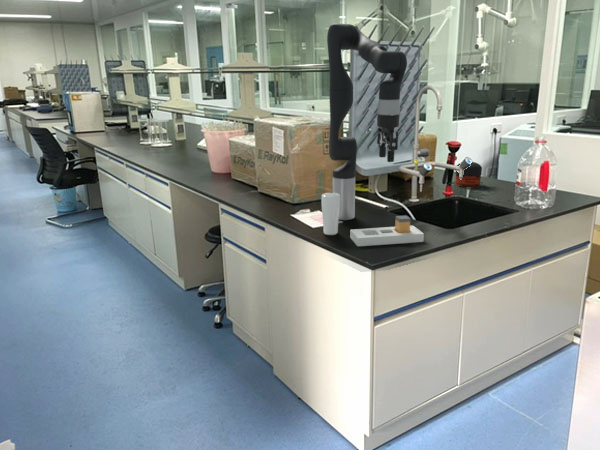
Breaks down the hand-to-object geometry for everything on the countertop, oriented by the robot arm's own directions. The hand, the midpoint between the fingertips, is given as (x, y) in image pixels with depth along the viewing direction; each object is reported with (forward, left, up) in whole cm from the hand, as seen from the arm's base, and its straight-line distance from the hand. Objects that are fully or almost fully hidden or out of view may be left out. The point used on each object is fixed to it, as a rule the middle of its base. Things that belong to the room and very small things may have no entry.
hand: (386, 159), depth 169 cm
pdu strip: (+6, -1, -28) cm, 29 cm away
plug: (+6, +5, -28) cm, 29 cm away
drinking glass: (-5, -19, -28) cm, 34 cm away
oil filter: (-70, +70, -28) cm, 103 cm away
